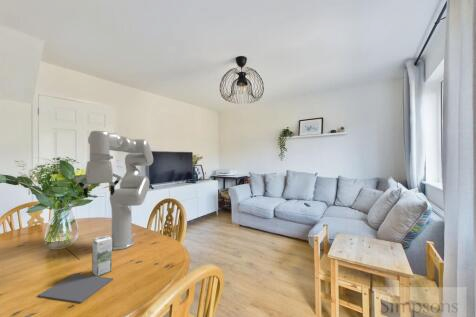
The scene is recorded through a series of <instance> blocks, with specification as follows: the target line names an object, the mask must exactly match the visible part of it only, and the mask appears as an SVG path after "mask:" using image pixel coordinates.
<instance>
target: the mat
mask: <svg viewBox="0 0 476 317" xmlns="http://www.w3.org/2000/svg"><path fill="white" fill-rule="evenodd" d="M113 280H114V277H108V276H107V277H106V276H96V275H88V274H80V273H74V274H72V275H70V276H69V277H67V278H65V279H64V280H62V281H60V282H58V283H57V284H55V285H53V286H51V287H49V288H48V289H46V290H44V291H43V292H40V293H38V294H37V297H38V298H44V299H52V300H58V301H64V302H72V303H78V304H82V303H83V302H85V301H86V300H87V299H89V298H90V297H92V296H93V295H95V293H97V292H98V291H100V290H101V289H103V288H104V287H106V286H107V285H108V284H109V283H110V282H113Z"/></svg>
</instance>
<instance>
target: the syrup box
mask: <svg viewBox="0 0 476 317" xmlns="http://www.w3.org/2000/svg"><path fill="white" fill-rule="evenodd" d="M91 244H92V246H91V247H92V250H91V252H92V255H91V256H92V257H91V258H92V260H91V272H92V274H93V276H98V277H101V276H103V275H105V274H108V273H110V272H112V268H113V267H112V262H113V261H112V259H113V258H112V257H113V254H112V253H113V250H112V236H109V235H107V234H106V235H103V236H97V237H95V238H92V243H91Z"/></svg>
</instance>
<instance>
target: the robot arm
mask: <svg viewBox="0 0 476 317" xmlns="http://www.w3.org/2000/svg"><path fill="white" fill-rule="evenodd" d="M87 142H88V144H89V161H87V162H86V168H85V174H83V175H80V176H78V177H76V178H75V181H76V182H77V184H78V185H79V186H80V187H81V188H83V190H82V191H83V196H85V198H88V197H89V188H88V186H89V185H90V184H91V185H93V184H94V185H95V184H107V183H109V184H110V186H109V190H110V191H109V202H110V206H111V238H112V251H117V250H123V249H127V248H130V247H132V246H133V245H134V244H135V240H133V238H134V237H135V236H136V235H137V234H136V232H133V233H132V210H131V209H130V207H129V206H141V205H142V204H143V203H144V202H145V200H146V196H147V194H148V191H149V189H150V179H149V177H148V176H145V175H142V173H141V171H140V169H139V168H138V167H139V166H140V167H143V166H144V167H147V166H151V165H152V164H153V163H154V156H153V152H152V149H151V147H150V144H149V142H148V141H147V140H146V139H140V138H139V139H138V138H137V139H136V138H135V139H134V138H130V137H127V136H123V135H122V136H121V134H118V133H116V132H108V131H103V130H92V131H91V132H90V133H89V136H88V138H87ZM110 151H113V152H122V153H128V154H126V155H125V157H124V163H125V164H124V165H125V170H126V172H125V174H124V176H123V177H122V176H120V175H118V174H116V173H113V172H114V171H113V164H112V161H111V160H112V159H114V156H113V155H110ZM136 166H137V167H136ZM114 178H116V179H115V180H114V181H113V179H114ZM83 179H85V183H83V182H82V180H83ZM120 180H121V182H120ZM117 184H119V188H116V189H115V187H116V185H117Z"/></svg>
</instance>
